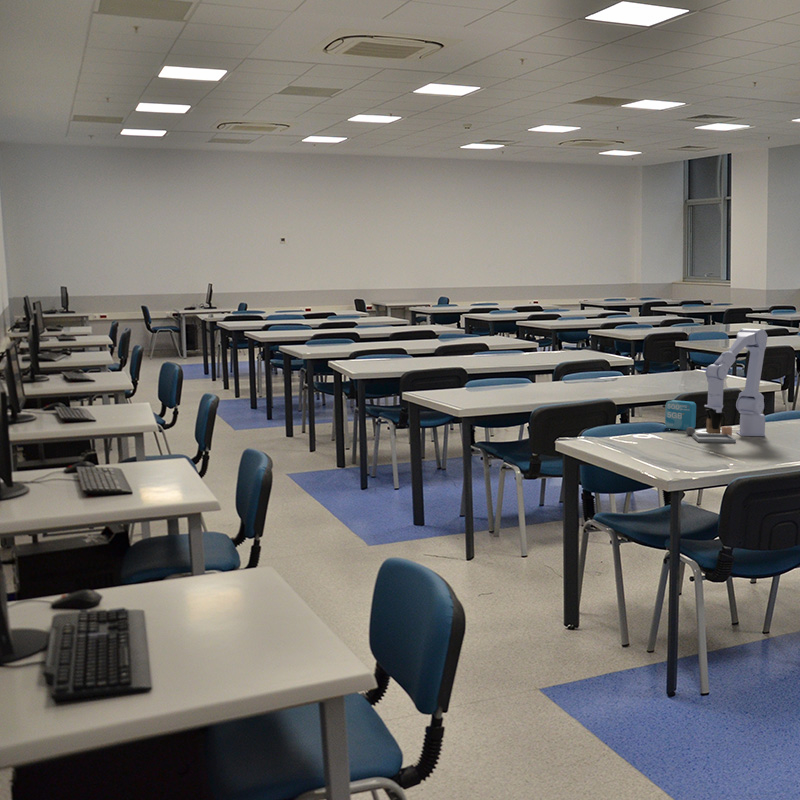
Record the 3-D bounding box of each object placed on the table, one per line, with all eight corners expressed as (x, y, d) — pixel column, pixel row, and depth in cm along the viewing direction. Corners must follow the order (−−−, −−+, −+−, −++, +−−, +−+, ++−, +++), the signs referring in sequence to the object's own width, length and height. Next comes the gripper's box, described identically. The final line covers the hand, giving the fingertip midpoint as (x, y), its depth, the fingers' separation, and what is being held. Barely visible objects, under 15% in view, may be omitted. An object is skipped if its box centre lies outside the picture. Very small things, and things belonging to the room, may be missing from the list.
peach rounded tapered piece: (730, 435, 343) (730, 426, 343) (732, 437, 340) (733, 427, 339) (720, 435, 344) (720, 426, 344) (722, 437, 340) (722, 427, 340)
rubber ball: (693, 434, 347) (694, 426, 347) (695, 436, 344) (695, 427, 343) (685, 434, 348) (685, 426, 347) (686, 435, 344) (686, 427, 344)
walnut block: (717, 431, 335) (718, 418, 335) (720, 433, 331) (720, 420, 330) (706, 431, 336) (706, 418, 335) (708, 433, 332) (709, 420, 331)
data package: (664, 427, 365) (665, 400, 364) (669, 426, 368) (670, 399, 367) (690, 430, 357) (691, 403, 355) (695, 429, 360) (696, 402, 358)
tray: (728, 437, 339) (728, 434, 339) (735, 443, 327) (735, 439, 327) (692, 437, 341) (692, 433, 341) (698, 442, 329) (698, 438, 329)
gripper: (701, 392, 339) (699, 424, 341) (709, 396, 325) (707, 430, 327) (719, 392, 338) (717, 425, 340) (727, 396, 324) (726, 431, 326)
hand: (714, 427), depth 333 cm, fingers closed on walnut block, 4 cm apart
